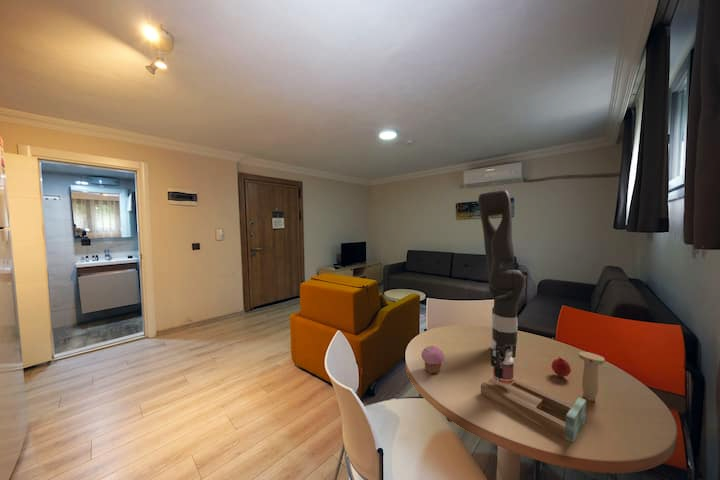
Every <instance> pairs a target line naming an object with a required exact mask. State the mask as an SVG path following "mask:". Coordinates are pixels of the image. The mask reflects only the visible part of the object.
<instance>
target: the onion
mask: <svg viewBox="0 0 720 480" xmlns="http://www.w3.org/2000/svg"><path fill="white" fill-rule="evenodd" d="M551 369H552V371H553V372H554V373H555V374H556V376H557V377H560V378H565V377H567V376H569V375H570V374H571V372H572V369H571V365H570V364H569V362H567V360H565V359H564V358H563V357H562V356H559V357H558V358H555V359H553V361H552V362H551Z"/></svg>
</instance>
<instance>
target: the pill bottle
mask: <svg viewBox="0 0 720 480" xmlns="http://www.w3.org/2000/svg"><path fill="white" fill-rule="evenodd" d="M500 358H503V357H501V356H500ZM514 362H515V360H514V357H513V358H512V357H511V351H509V353H508V354H507V358H506V361H505V362H504V363H503V367H502V368H503V372H502V378H501V379H500V378H498V377H496V376H495V367H494V366H492V367H493V369H492V370H493V371H492V372H493V373H492V378H494V380H495V381H496V382H497V383H499V384H501V385H506V386H509V385H512V384H513V379H514V371H515V370H514V368H515V367H514V366H515V364H514ZM500 363H501V361H500Z"/></svg>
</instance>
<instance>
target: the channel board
mask: <svg viewBox="0 0 720 480" xmlns="http://www.w3.org/2000/svg"><path fill="white" fill-rule="evenodd" d="M480 394H481V395H483V396H484V397H486V398H488V399H490V400H492V401H494V402H496V403H497V404H499V405H502V406H503V407H505V408H507V409H508V410H510V411H512V412H514V413H516V414H518V415H520V416H522V417H524V418H525V419H528V420H529V421H530V422H533V423H535V424H537V425H538V426H540V427H542V428H544V429H546V430H547V431H550V432H551V433H553V434H555V435H556V436H559V437H560V438H562V439H564V440H566V441H567V442H568V441H569V443H573V444H574V441H575V439H576V438H577V436H578V435H579V432H580V431H581V430H582V428H583V427H584V424H585V423H586V411H587V399H586V398H584V397H583V398H582V397H581V396H578V398H577V399H576V400H575V402H574V403H573V404H571V403H569V402H566V401H564V400H562V399H560V398H557V397H555V396H553V395H550V394H548V393H547V392H545V391H542V390H539V389H537V388H536V387H533V386H530V385H528V384H526V383H523V382H522V381H519V380H517V379H515V378H513V384H512V385H509V386H506V385H501V384H499V383H497V382H496V381H495V380H494V378H493V377H491V378H490V379H489V380H488V381H486V382H485V381H483V382H481V384H480ZM543 407H545V408H547V409H549V410H551V411H552V412H555V413H558V414H559V415H562V417H563V416H564V417H565V421H563V420H561V419H559V418H558V417H555V416H553V415H551V414H550V413H547V412H545V411H544V410H541V409H542V408H543Z"/></svg>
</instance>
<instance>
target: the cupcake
mask: <svg viewBox="0 0 720 480" xmlns="http://www.w3.org/2000/svg"><path fill="white" fill-rule="evenodd" d="M421 359H422V360H423V361H424V367H425V368H424V369H425V370H426V371H427V372H428V373H430V374H439V373H440V370H441V367H442V365H443V363H444V361H445V353H444V352H443V351H442V349H441V348H439V347H437V346H436V345H428V346H427V347H425V348H424V349H422V351H421Z"/></svg>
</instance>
